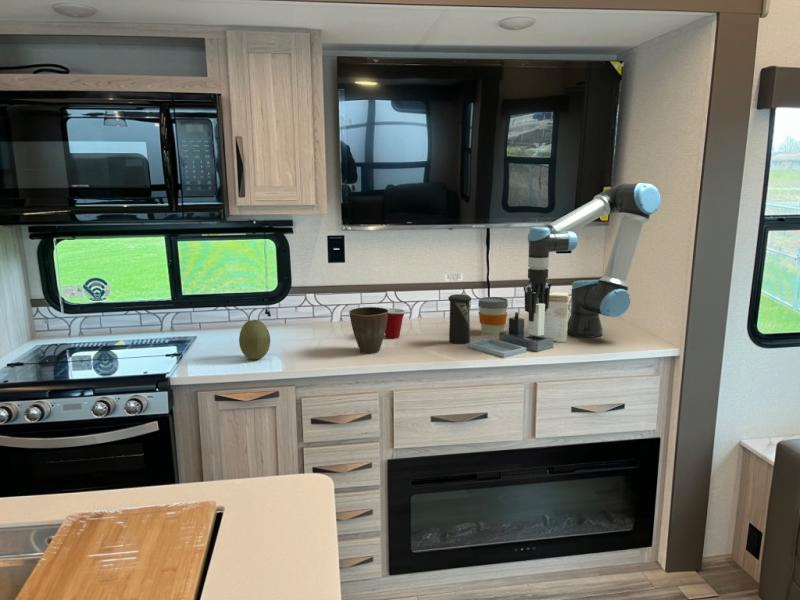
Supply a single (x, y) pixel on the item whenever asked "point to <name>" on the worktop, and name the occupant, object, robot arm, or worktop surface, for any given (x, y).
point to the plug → (538, 319)
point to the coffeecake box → (557, 317)
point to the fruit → (254, 339)
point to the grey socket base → (524, 336)
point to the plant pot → (369, 327)
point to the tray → (497, 347)
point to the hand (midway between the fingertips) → (536, 328)
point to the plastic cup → (394, 322)
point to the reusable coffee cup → (492, 314)
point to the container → (459, 319)
